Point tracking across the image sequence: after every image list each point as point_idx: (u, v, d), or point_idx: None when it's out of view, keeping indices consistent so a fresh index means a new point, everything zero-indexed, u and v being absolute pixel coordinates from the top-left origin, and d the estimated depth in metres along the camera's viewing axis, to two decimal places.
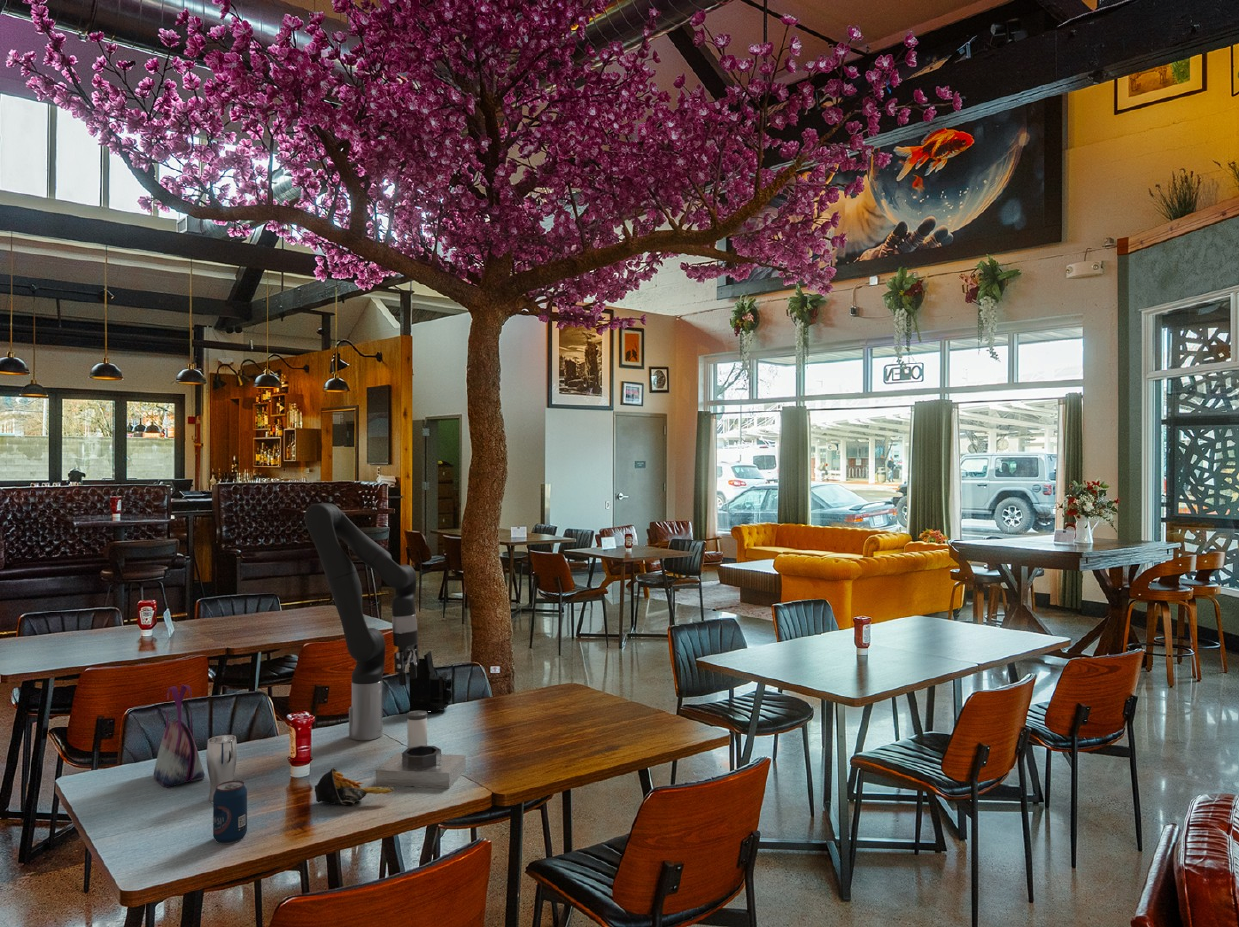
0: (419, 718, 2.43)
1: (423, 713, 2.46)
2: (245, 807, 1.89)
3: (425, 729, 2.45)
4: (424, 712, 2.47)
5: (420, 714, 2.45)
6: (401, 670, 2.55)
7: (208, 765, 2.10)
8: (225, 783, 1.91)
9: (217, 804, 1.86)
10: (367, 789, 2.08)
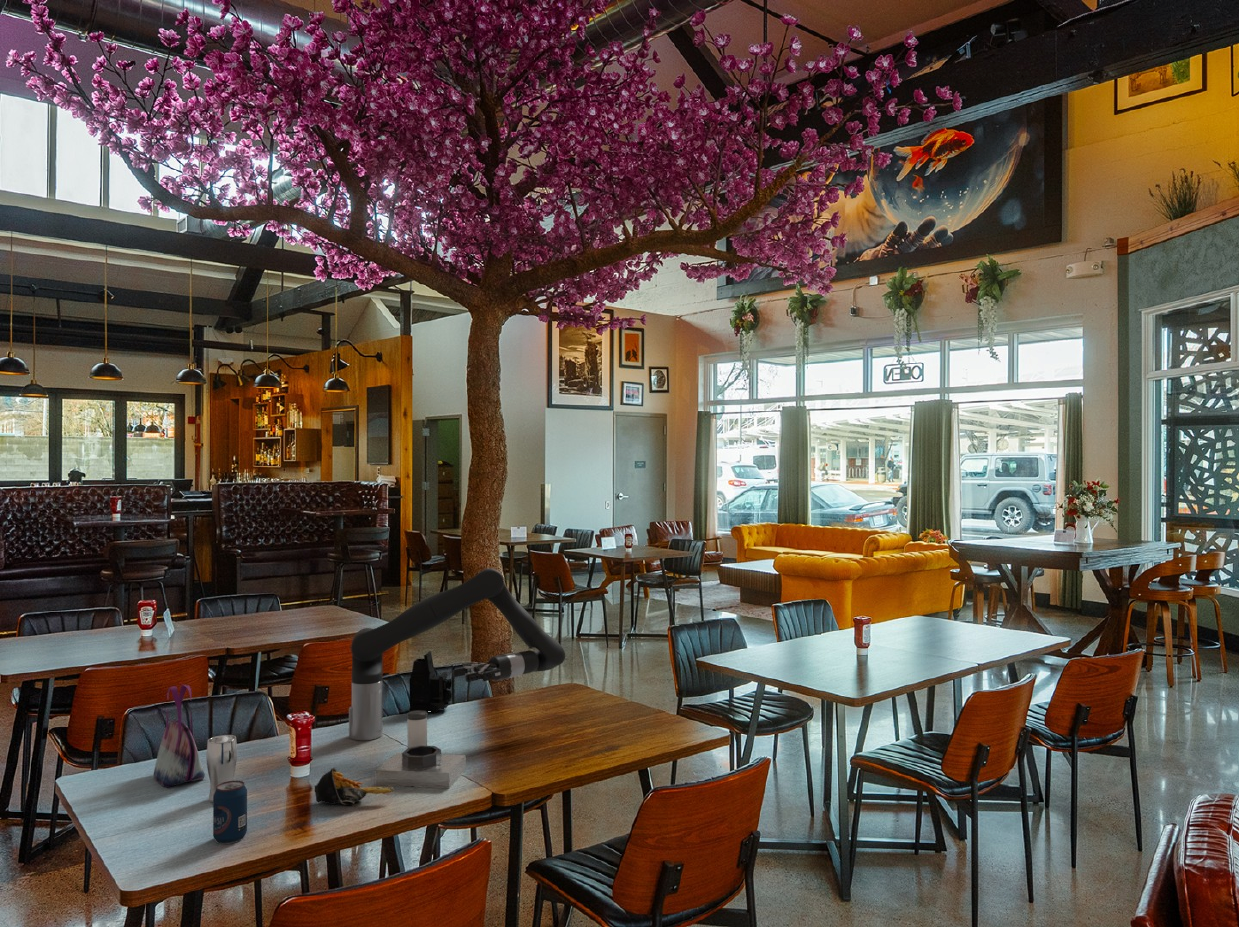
0: (419, 718, 2.43)
1: (423, 713, 2.46)
2: (245, 807, 1.89)
3: (425, 729, 2.45)
4: (424, 712, 2.47)
5: (420, 714, 2.45)
6: (485, 679, 2.52)
7: (208, 765, 2.10)
8: (225, 783, 1.91)
9: (217, 803, 1.86)
10: (367, 789, 2.08)
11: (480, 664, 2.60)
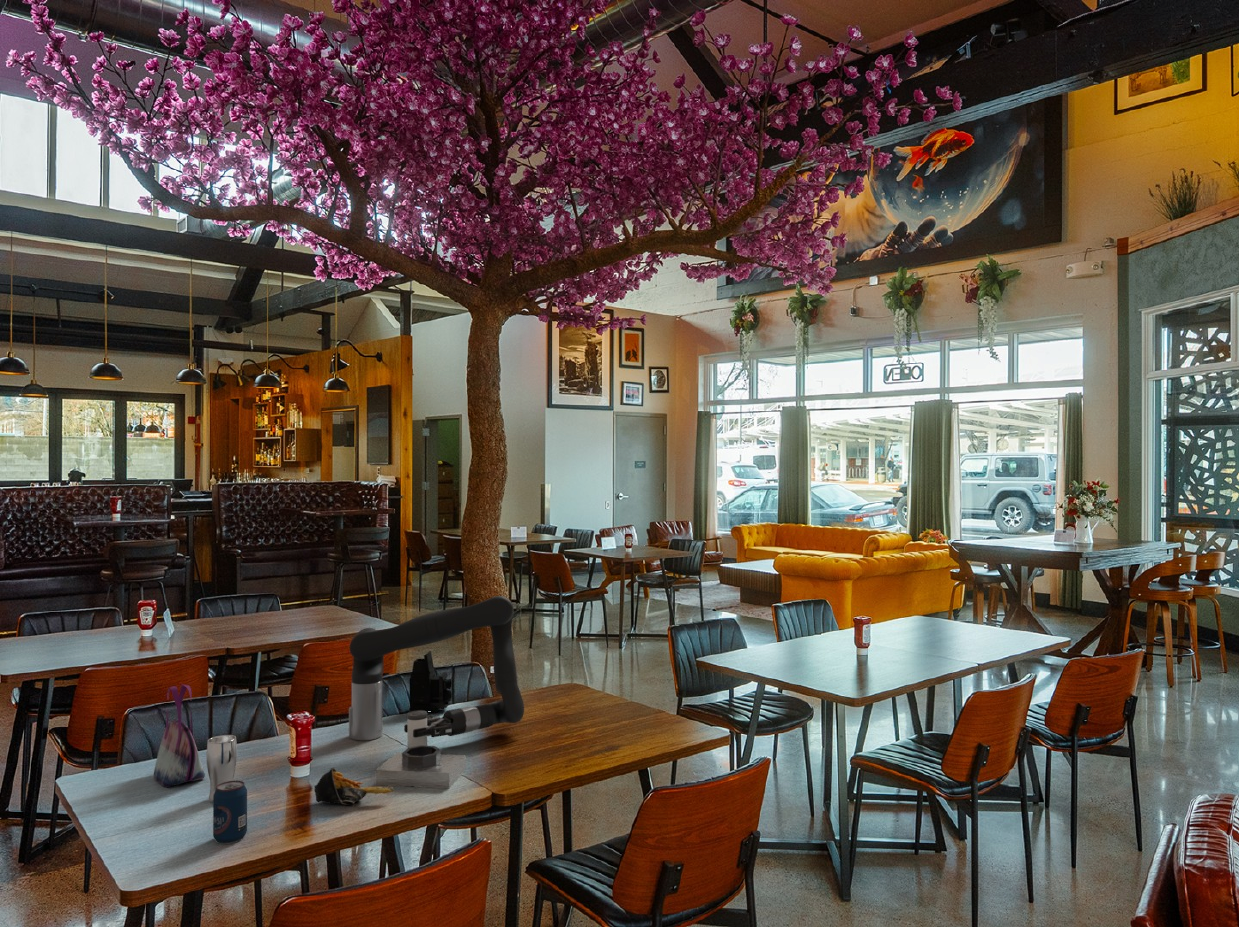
0: (419, 718, 2.43)
1: (423, 713, 2.46)
2: (245, 807, 1.89)
3: None
4: (424, 712, 2.47)
5: (420, 714, 2.45)
6: (433, 735, 2.43)
7: (208, 765, 2.10)
8: (225, 783, 1.91)
9: (217, 804, 1.86)
10: (367, 789, 2.08)
11: (434, 718, 2.50)
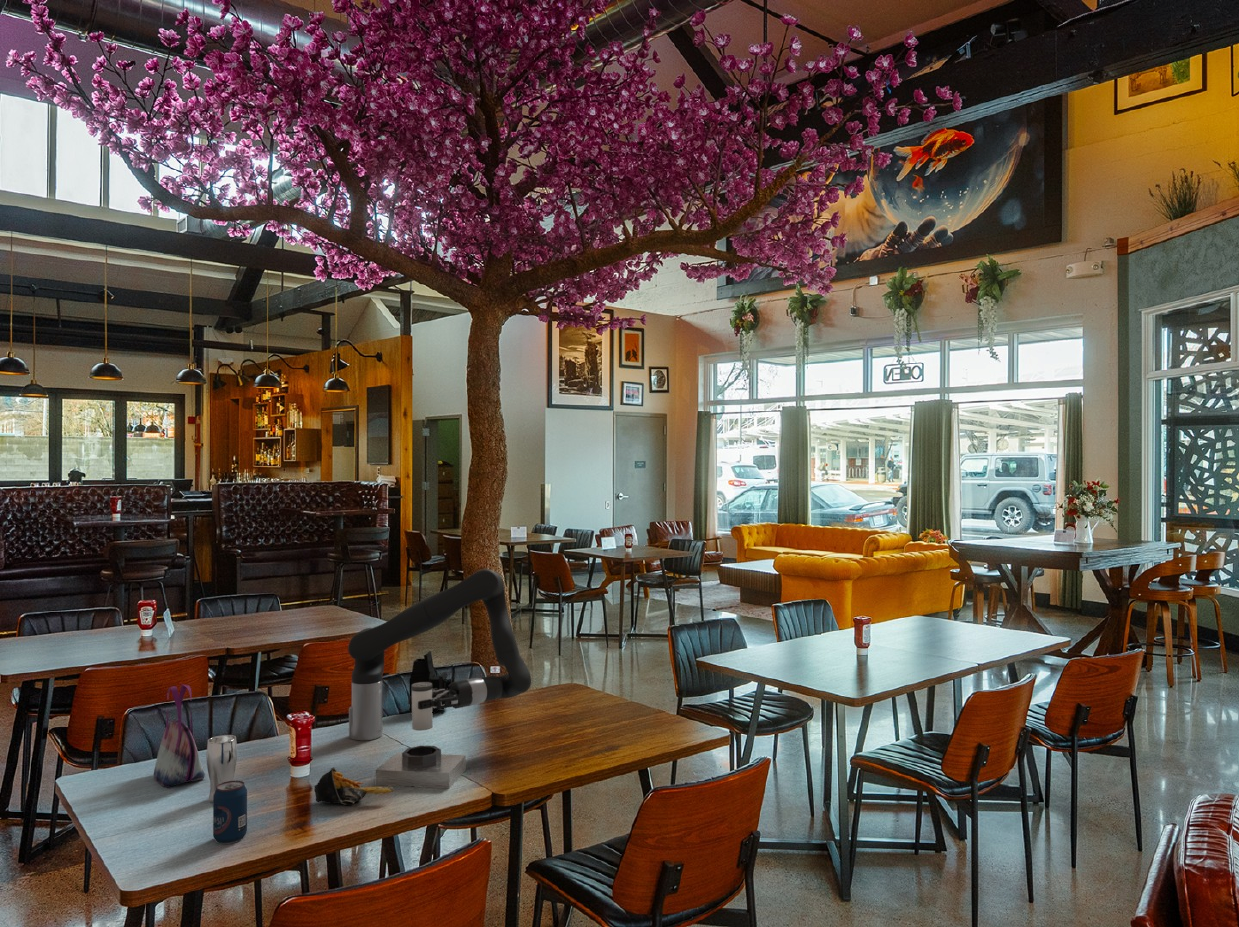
0: (424, 689, 2.34)
1: (428, 684, 2.36)
2: (245, 807, 1.89)
3: None
4: (429, 683, 2.38)
5: (424, 685, 2.35)
6: (439, 707, 2.33)
7: (208, 765, 2.10)
8: (225, 783, 1.91)
9: (217, 804, 1.86)
10: (367, 789, 2.08)
11: (439, 690, 2.41)
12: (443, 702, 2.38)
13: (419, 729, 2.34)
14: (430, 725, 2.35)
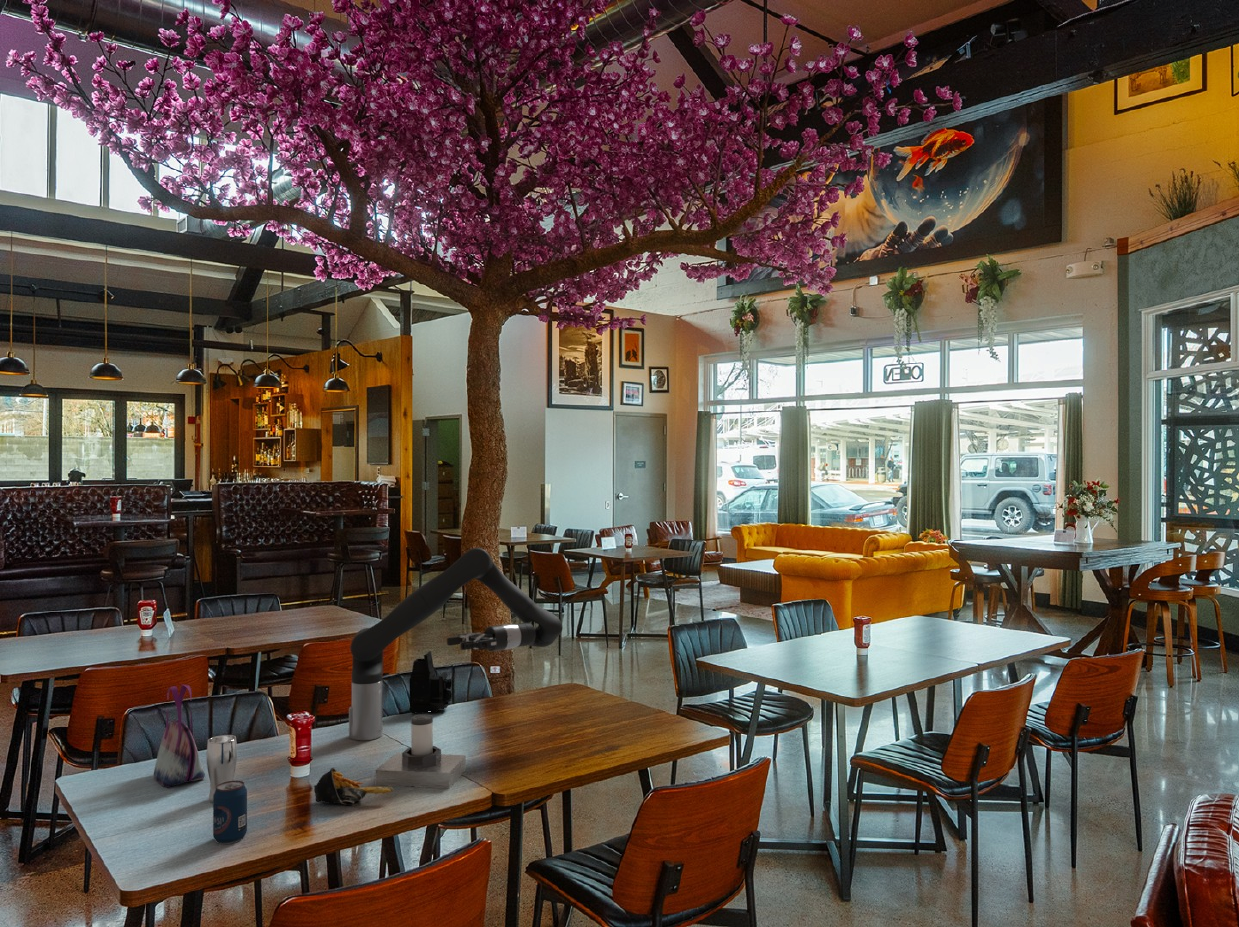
0: (424, 723, 2.25)
1: (428, 717, 2.27)
2: (245, 807, 1.89)
3: (430, 735, 2.26)
4: (430, 716, 2.28)
5: (425, 718, 2.26)
6: (481, 648, 2.44)
7: (208, 765, 2.10)
8: (225, 783, 1.91)
9: (217, 804, 1.86)
10: (367, 789, 2.08)
11: (476, 633, 2.53)
12: (482, 644, 2.49)
13: None
14: None
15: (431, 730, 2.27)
